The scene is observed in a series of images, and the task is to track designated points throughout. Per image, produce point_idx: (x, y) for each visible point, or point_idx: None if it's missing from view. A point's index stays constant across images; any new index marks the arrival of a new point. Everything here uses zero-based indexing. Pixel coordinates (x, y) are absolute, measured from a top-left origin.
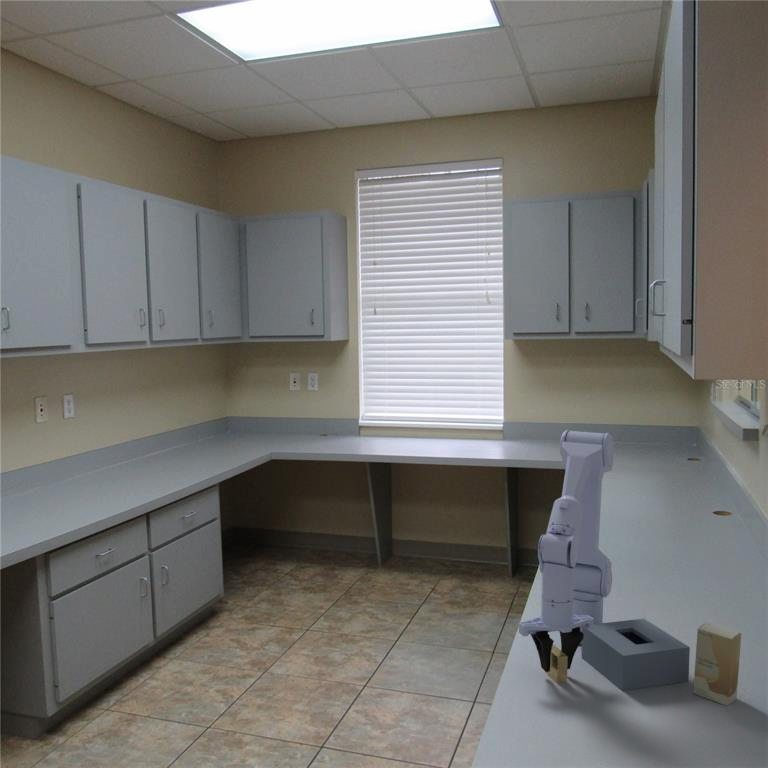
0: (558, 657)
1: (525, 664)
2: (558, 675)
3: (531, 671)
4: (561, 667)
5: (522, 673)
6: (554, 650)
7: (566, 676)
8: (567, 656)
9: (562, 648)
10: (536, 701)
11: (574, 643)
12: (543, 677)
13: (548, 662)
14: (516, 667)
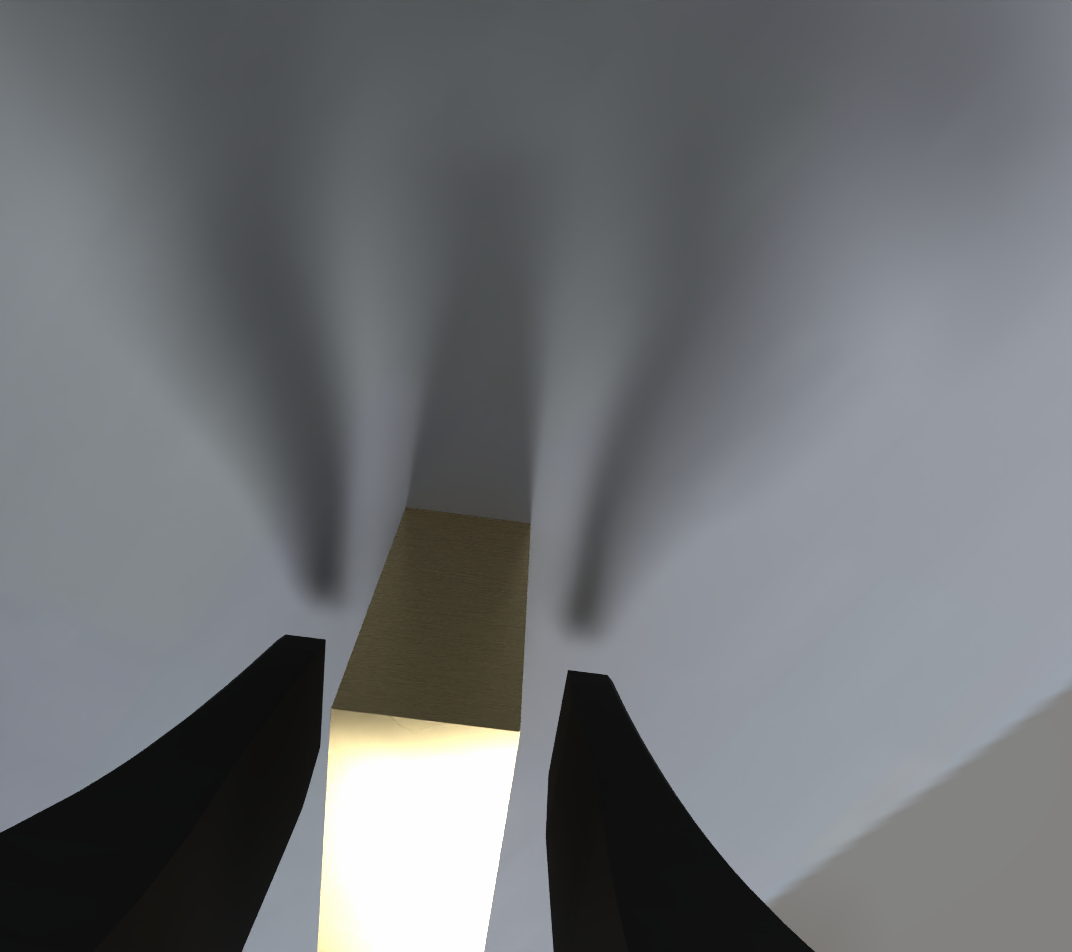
0: (509, 727)
1: None
2: (512, 568)
3: None
4: (461, 620)
5: (725, 807)
6: (419, 910)
7: (401, 541)
8: (335, 704)
9: (243, 924)
10: (1053, 272)
11: (83, 880)
12: None
13: (613, 744)
14: None
